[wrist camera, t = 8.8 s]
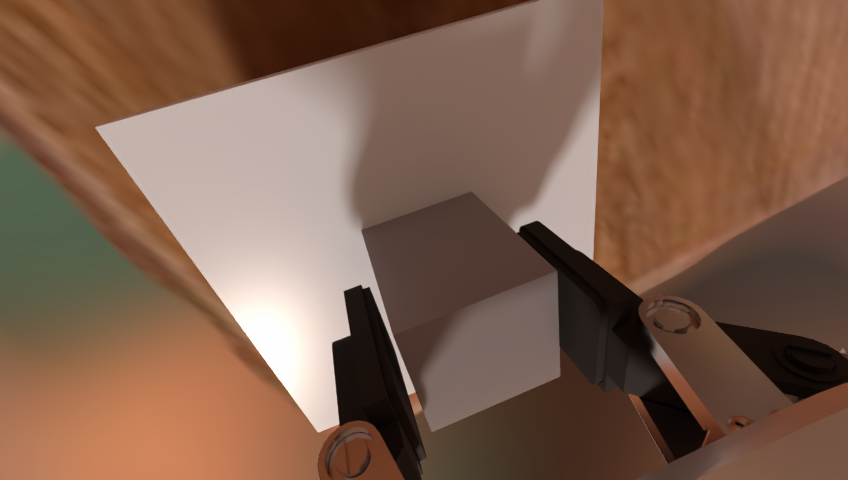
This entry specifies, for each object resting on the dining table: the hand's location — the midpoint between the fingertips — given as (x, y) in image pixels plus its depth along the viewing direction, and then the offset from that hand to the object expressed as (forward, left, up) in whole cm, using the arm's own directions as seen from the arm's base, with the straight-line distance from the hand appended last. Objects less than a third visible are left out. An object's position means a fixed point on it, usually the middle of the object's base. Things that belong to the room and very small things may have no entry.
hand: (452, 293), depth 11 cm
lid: (0, 0, -3) cm, 3 cm away
